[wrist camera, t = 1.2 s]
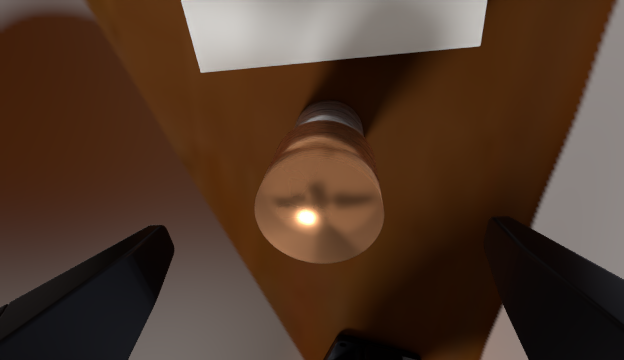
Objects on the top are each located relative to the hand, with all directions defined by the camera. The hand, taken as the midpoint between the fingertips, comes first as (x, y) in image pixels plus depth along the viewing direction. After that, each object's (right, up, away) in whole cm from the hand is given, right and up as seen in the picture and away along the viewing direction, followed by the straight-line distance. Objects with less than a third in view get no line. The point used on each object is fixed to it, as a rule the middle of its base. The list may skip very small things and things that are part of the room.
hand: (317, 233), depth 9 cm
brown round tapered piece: (+1, +4, +6) cm, 7 cm away
